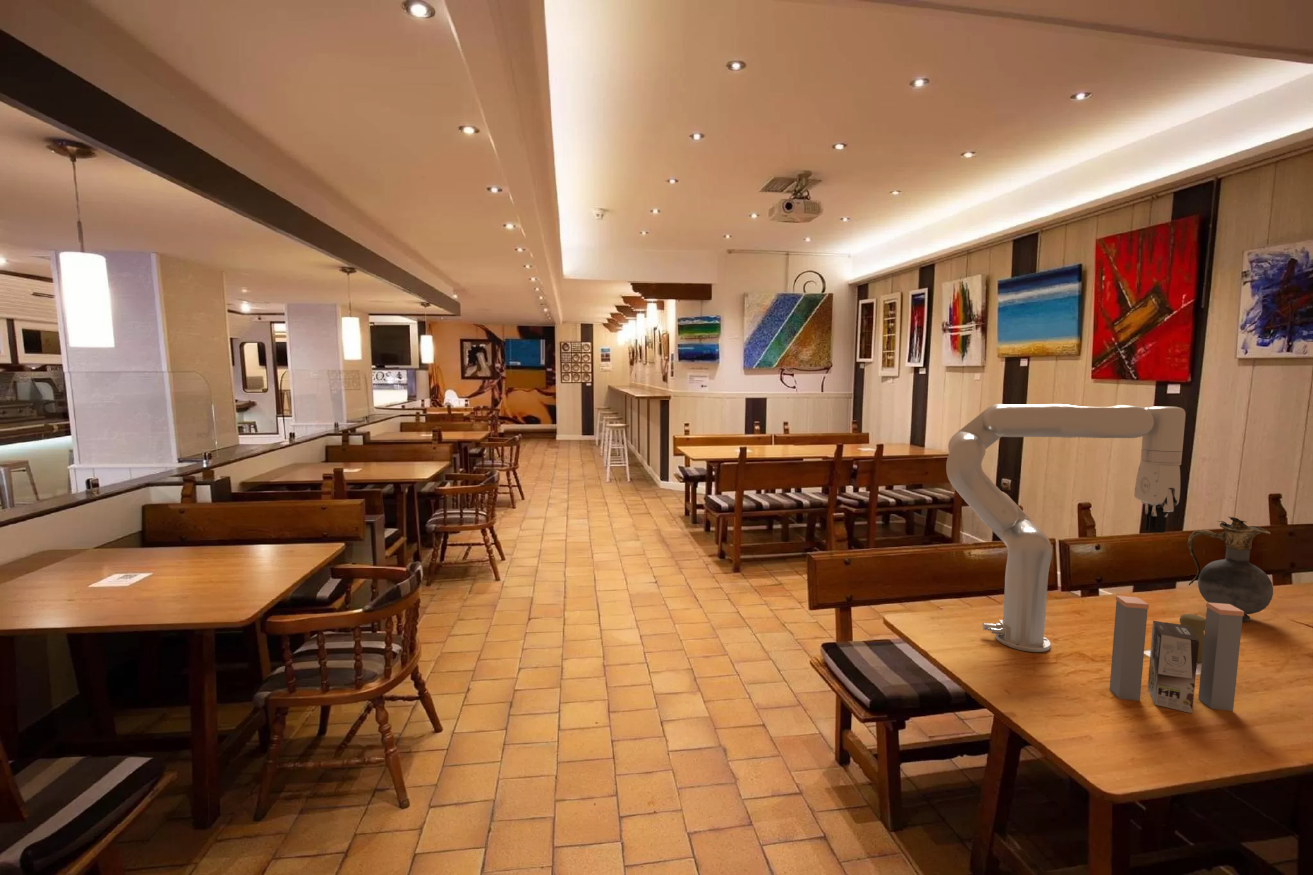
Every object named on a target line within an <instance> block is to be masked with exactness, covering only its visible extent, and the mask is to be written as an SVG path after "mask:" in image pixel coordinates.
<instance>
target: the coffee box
mask: <svg viewBox="0 0 1313 875" xmlns="http://www.w3.org/2000/svg"><path fill="white" fill-rule="evenodd" d="M1199 642H1200V641H1199V639H1198V638H1197V637H1196V635H1195V634H1194V633H1193V631H1192V630H1191V629H1190V627H1189V626H1186V625H1181V624H1179V623H1174V622H1173V623H1172V622H1164V621H1157V620H1152V628H1151V639H1150V652H1149V653H1150V654H1149V665H1148V666H1149V667H1148V680H1147V689H1148V691H1149V694H1150V696H1151V699H1152V701H1153V703H1154V705H1155V706H1159V707H1164V708H1167V709H1172V710H1177V711H1180V712H1185V713H1188V714H1192V713H1193V706H1194V700H1195V698H1194V697H1195V696H1194V695H1195V686H1196V679H1197V678H1196V676H1197V668H1198V663H1197V659H1198V650H1199Z"/></svg>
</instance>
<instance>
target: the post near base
mask: <svg viewBox="0 0 1313 875" xmlns="http://www.w3.org/2000/svg"><path fill="white" fill-rule="evenodd" d="M1115 601H1116V603H1115V614H1114V616H1115V617H1114V628H1113V642H1112V652H1111V654H1112V655H1111V666H1110V677H1109V678H1110V679H1109V691H1111V693H1112V694H1114V695H1115V696H1116V697H1117V698H1118V699H1120V700H1128V701H1129V700H1130V701H1138V702H1139V701H1141V693H1142V692H1141V690H1142V679H1143V668H1144V658H1145V657H1144V656H1145V655H1144V654H1145V645H1146V644H1145V643H1146V635H1147V634H1146V631H1147V622H1148V621H1147V620H1148V610H1149V607H1150V605H1149V603H1147V602H1146V601H1144V600H1143V599H1141V598H1139V597H1136V596H1126V595H1125V596H1124V595H1116V596H1115Z"/></svg>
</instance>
